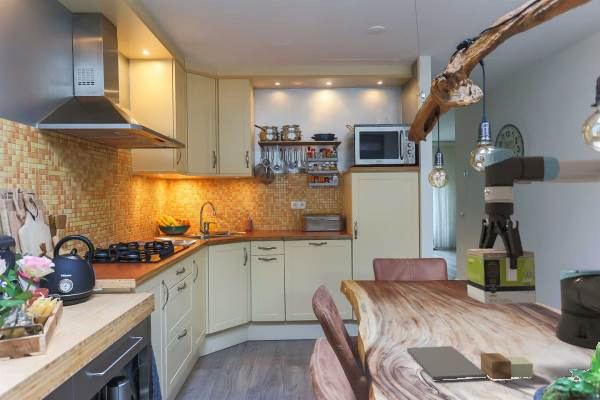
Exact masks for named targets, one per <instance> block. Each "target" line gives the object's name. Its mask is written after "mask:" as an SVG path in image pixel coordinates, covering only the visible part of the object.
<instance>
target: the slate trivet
mask: <svg viewBox="0 0 600 400" xmlns="http://www.w3.org/2000/svg"><path fill="white" fill-rule="evenodd" d="M406 351H407V353H408V355H409V356H410V355H411V356H412V357H413V358H412V357H411V356H410V357H411V358H412V359H413V360H414V359H415V360H414V361H415V363H416V364H417V365H418V364H419V365H420V366H421V367H422V368H423V369H422V368H421V367H420V366H419V365H418V366H419V367H420V368H421V369H422V370H423V371H424V373H427V374H428V375H429V376H430V377H431V378H432V379H433V380H443V379H457V378H466V377H487V375H486V373H484V372H483V371H482V370H481V368H480V367H478V366H477V365H476V364H475V363H473V362H472V361H471V360H470V359H468V358H467V357H466V356H465V355H463V354H462V353H461V352H459V350H457V349H456V348H455V347H454V346H452V345H449V346H448V345H447V346H443V345H442V346H428V347H427V346H426V347H425V346H422V347H407V349H406ZM427 374H426V375H427ZM428 375H427V376H428ZM429 376H428V377H429ZM430 377H429V378H430ZM431 378H430V379H431ZM432 379H431V380H432ZM433 380H432V381H433Z"/></svg>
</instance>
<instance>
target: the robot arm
mask: <svg viewBox="0 0 600 400" xmlns="http://www.w3.org/2000/svg"><path fill="white" fill-rule="evenodd" d="M483 159H484V164H483V169H484V171H483V172H484V191H483V192H484V200H485V201H486V202H485V203H484V214H485V215H486V216H488V218H482V219H481V230H480V231H481V232H480V237H479V245H478V249H494V246H495V243H496V240H497V238H498V236H500V238H501V240H502V244H503V246H504V249H506V252H507V256H506V281H517V268H518V266H517V259H518V257H520V256H523V255H524V254H523V251H524V248H523V244H522V241H521V235H520V231H519V228H520V227H519V224H520V222H519V221H518V220H511V216H514V214H515V208H514V207H515V204H514V203H513V201H514V200H515V188H514V185H528V184H529V185H530V184H532V185H534V184H535V185H537V184H539V185H541V184H579V183H580V184H584V183H585V184H587V183H593V184H595V183H600V158H598V159H594V158H593V159H564V160H562V159H560V160H558V159H557V157H555V156H553V155H552V156H551V155H550V156H548V155H537V156H536V155H535V156H534V155H533V156H532V155H531V156H525V155H524V156H520V155H519V156H517V155H515V154H514V150H513V149H512V148H495V149H490V150H487V151H486V152H485V154H484V158H483ZM511 252H512V253H511ZM559 283H560V284H559V285H560V306H561V308H560V310H561V313H560V315H559V316H560V317H559V320H558V322H557V325H556V327H555V337H556V338H558V339H559V340H560V341H562V342H565V343H568V344H570V345H574V346H577V347H580V348H587V349H595V350H597V349H596V346H597V344H598V342H600V269H593V268H565V269H562V270H561V271H560V276H559Z"/></svg>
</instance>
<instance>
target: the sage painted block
mask: <svg viewBox="0 0 600 400" xmlns="http://www.w3.org/2000/svg"><path fill="white" fill-rule="evenodd" d="M504 357H505V358H507V359H508V360H510V361H511V377H513V378H514V377H519V378H520V377H521V378H523V377H528V378H529V377H533V378H534V364H533V363H532V362H531V361H529V360H528V359H526V358H525V357H523V356H513V357H512V356H511V357H509V356H504Z"/></svg>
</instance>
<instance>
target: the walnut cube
mask: <svg viewBox="0 0 600 400" xmlns="http://www.w3.org/2000/svg"><path fill="white" fill-rule="evenodd" d="M505 357H506V356H504V355H502V354H501V353H499V352H489V353H485V352H484V353H480V369H481V370H482V371H483V372H484V373H486V375H488V376H489V377H490V378H492V379H511V361H510V360H508V359H507V358H505Z"/></svg>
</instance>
